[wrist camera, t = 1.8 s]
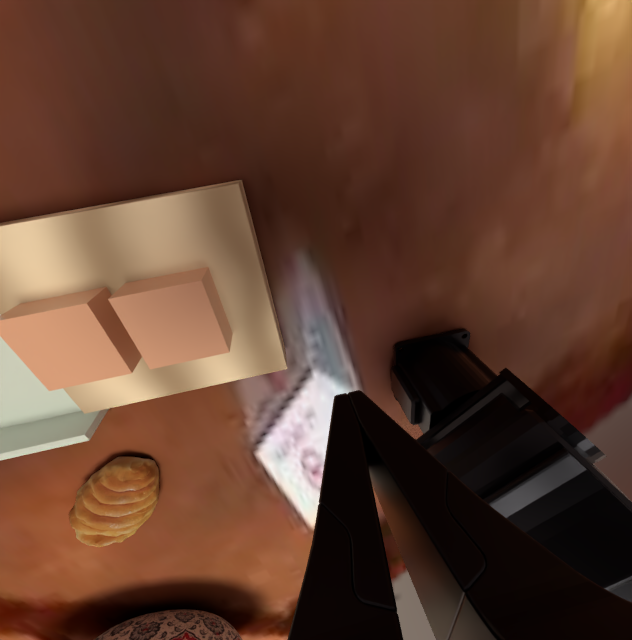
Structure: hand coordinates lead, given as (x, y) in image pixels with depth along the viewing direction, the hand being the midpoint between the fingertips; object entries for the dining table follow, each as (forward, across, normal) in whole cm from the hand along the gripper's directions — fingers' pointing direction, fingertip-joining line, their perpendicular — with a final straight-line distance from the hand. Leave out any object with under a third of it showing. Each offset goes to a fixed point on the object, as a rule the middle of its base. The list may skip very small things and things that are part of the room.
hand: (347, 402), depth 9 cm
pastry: (+12, +21, +18) cm, 30 cm away
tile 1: (+10, +8, 0) cm, 12 cm away
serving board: (+12, +10, 0) cm, 15 cm away
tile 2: (+10, +13, 0) cm, 16 cm away
